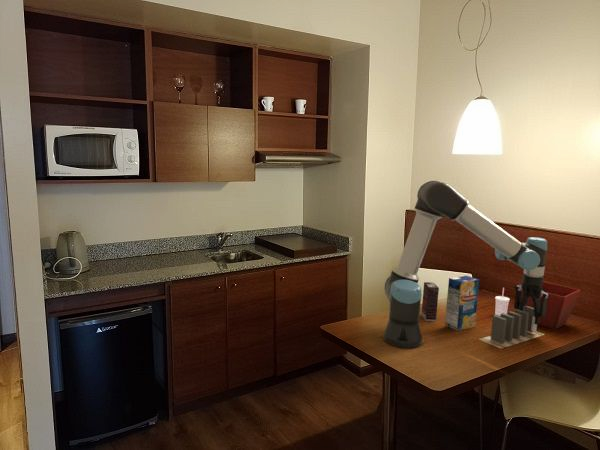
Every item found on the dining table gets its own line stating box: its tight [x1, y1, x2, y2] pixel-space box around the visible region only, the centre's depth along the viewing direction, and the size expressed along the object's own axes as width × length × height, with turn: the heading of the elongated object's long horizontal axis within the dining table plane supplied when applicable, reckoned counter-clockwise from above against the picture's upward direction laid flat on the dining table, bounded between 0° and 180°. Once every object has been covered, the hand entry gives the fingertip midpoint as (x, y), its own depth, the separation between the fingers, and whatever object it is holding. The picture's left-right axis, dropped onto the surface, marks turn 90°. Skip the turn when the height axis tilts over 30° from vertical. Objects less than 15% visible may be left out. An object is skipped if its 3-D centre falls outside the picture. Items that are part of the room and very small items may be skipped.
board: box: [478, 330, 545, 350], centre depth 180 cm, size 30×10×1 cm, turn 121°
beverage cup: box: [494, 287, 510, 316], centre depth 206 cm, size 6×6×14 cm
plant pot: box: [520, 280, 581, 330], centre depth 199 cm, size 19×19×17 cm
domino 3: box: [507, 310, 522, 339], centre depth 180 cm, size 2×5×10 cm, turn 31°
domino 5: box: [522, 306, 535, 333], centre depth 185 cm, size 2×5×10 cm, turn 31°
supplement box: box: [420, 281, 440, 322], centre depth 200 cm, size 9×5×16 cm, turn 179°
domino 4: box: [514, 309, 529, 337], centre depth 182 cm, size 2×5×10 cm, turn 31°
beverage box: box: [444, 275, 480, 331], centre depth 189 cm, size 7×11×22 cm, turn 118°
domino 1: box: [490, 314, 507, 344], centre depth 174 cm, size 2×5×10 cm, turn 31°
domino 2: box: [500, 313, 515, 342], centre depth 177 cm, size 2×5×10 cm, turn 31°
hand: (527, 328), depth 185 cm, fingers closed on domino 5, 5 cm apart
